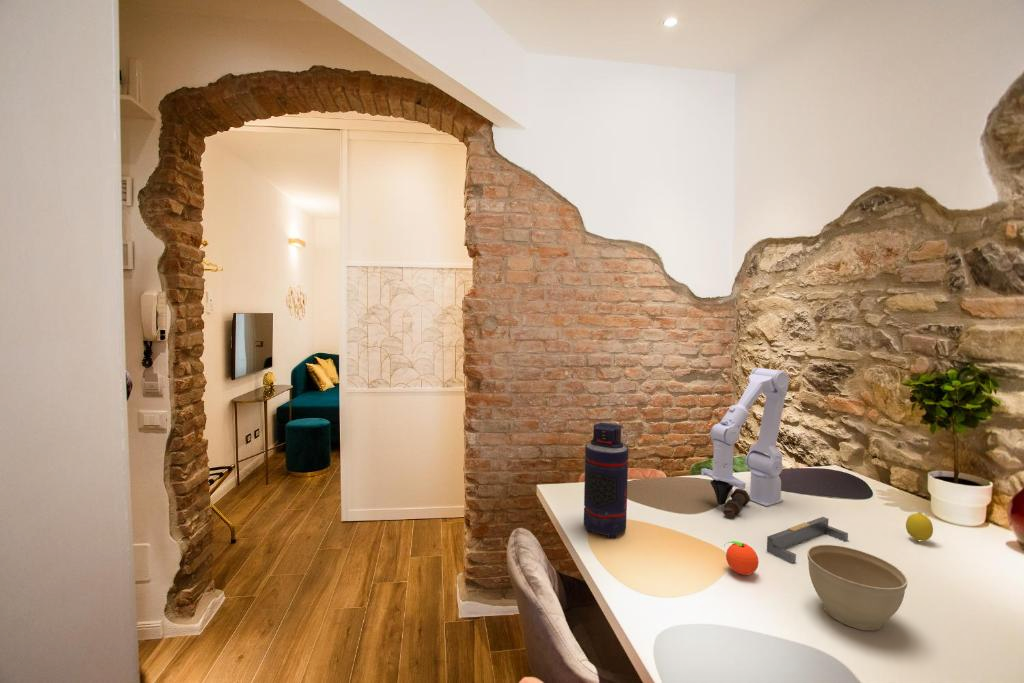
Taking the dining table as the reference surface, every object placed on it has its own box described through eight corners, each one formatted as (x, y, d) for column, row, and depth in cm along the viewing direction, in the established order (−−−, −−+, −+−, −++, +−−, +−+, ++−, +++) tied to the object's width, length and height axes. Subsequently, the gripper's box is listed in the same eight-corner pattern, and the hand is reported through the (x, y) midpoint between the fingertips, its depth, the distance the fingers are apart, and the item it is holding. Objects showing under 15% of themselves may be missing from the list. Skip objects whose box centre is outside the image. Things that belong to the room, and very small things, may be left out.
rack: (822, 530, 130) (822, 515, 130) (847, 540, 124) (848, 525, 124) (766, 551, 117) (767, 535, 117) (792, 563, 112) (792, 547, 112)
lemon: (927, 539, 125) (929, 511, 125) (935, 548, 120) (937, 519, 120) (901, 534, 128) (903, 507, 127) (909, 543, 123) (911, 514, 122)
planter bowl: (878, 655, 81) (881, 597, 81) (788, 604, 96) (791, 554, 95) (920, 628, 89) (923, 574, 88) (831, 584, 103) (833, 538, 103)
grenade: (618, 543, 121) (620, 432, 119) (576, 532, 127) (579, 426, 125) (633, 523, 132) (636, 422, 131) (595, 514, 139) (597, 417, 137)
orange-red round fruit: (715, 568, 109) (716, 540, 109) (729, 559, 113) (731, 532, 113) (749, 584, 103) (750, 554, 102) (763, 574, 107) (764, 545, 107)
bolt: (725, 524, 137) (738, 507, 148) (741, 520, 134) (753, 503, 145) (715, 505, 138) (729, 489, 150) (731, 501, 135) (743, 485, 147)
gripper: (695, 457, 148) (694, 497, 148) (735, 470, 135) (733, 515, 136) (710, 454, 151) (708, 494, 152) (750, 467, 138) (748, 510, 139)
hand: (721, 503), depth 144 cm, fingers closed
